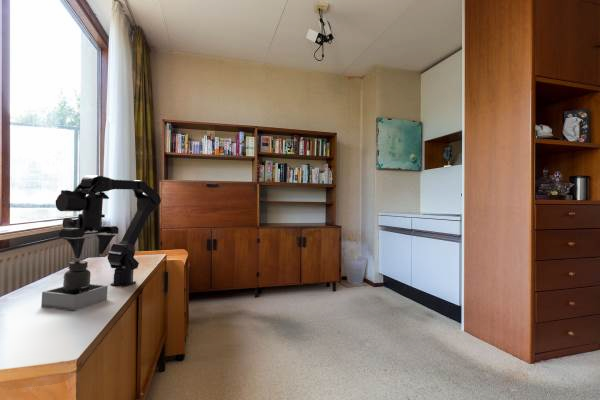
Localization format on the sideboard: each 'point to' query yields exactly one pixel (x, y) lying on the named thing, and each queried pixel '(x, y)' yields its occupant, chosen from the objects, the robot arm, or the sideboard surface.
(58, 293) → the open box
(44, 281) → the sideboard surface
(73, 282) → the supplement bottle
